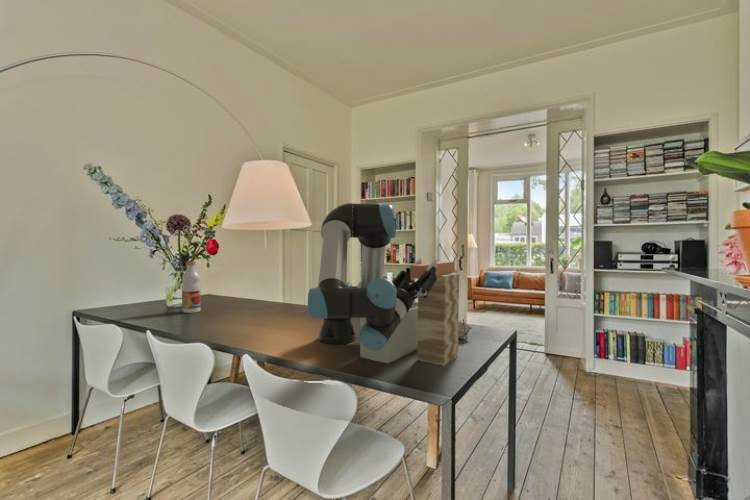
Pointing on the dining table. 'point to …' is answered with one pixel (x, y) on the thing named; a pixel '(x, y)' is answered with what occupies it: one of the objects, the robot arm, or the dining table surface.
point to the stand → (439, 321)
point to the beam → (442, 269)
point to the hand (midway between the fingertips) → (428, 262)
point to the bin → (396, 339)
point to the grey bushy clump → (463, 329)
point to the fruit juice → (191, 289)
